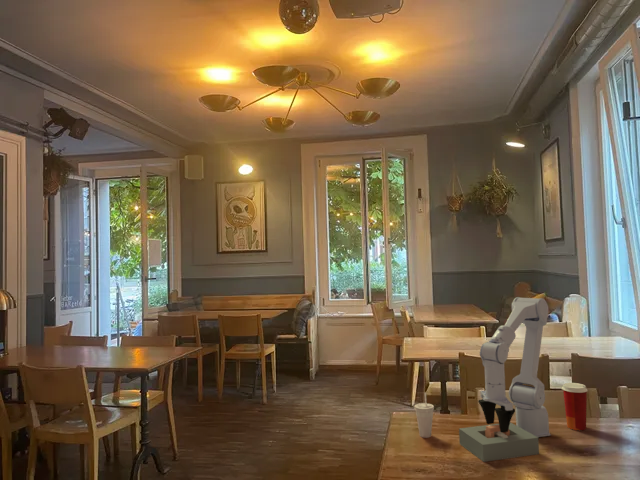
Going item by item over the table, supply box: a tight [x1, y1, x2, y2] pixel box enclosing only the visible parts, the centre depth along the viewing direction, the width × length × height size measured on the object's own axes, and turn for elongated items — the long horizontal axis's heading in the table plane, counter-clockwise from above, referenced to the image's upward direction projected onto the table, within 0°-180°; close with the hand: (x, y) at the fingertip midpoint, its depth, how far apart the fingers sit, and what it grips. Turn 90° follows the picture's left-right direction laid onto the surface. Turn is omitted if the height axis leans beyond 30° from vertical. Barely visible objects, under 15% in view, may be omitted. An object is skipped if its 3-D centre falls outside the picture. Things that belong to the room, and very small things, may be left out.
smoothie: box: [414, 392, 435, 439], centre depth 166 cm, size 6×6×14 cm
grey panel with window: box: [458, 421, 540, 463], centre depth 153 cm, size 18×14×6 cm
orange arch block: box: [485, 424, 510, 438], centre depth 153 cm, size 6×3×6 cm, turn 103°
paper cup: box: [561, 382, 589, 432], centre depth 168 cm, size 8×8×14 cm
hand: (497, 427), depth 153 cm, fingers open, 7 cm apart
